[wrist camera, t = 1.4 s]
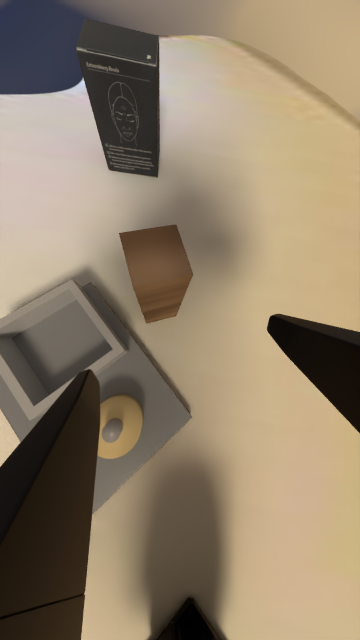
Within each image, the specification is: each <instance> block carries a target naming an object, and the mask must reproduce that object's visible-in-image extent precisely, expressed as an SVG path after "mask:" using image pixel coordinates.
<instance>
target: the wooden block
mask: <svg viewBox="0 0 360 640" xmlns="http://www.w3.org/2000/svg"><path fill="white" fill-rule="evenodd" d="M119 235H120V239H121V243H122V246H123V250H124V254H125V258H126V262H127V266H128V270H129V273H130V277H131V281H132V285H133V288H134V291H135V294H136V297H137V299H138V302H139V305H140V307H141V310H142V313H143V316H144V318H145V321H146V323H150V322H154V321H158V320H161V319H165V318H169V317H173V316H176V314H177V312H178V310H179V307H180V305H181V302H182V300H183V297H184V295H185V293H186V290H187V288H188V285H189V283H190V280H191V278H192V276H193V273H192V270H191V267H190V264H189V261H188V258H187V255H186V252H185V249H184V246H183V243H182V240H181V237H180V234H179V231H178V229H177V226H176V225H170V226H163V227H156V228H150V229H143V230H136V231H130V232H123V233H119Z"/></svg>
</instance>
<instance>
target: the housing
mask: <svg viewBox="0 0 360 640" xmlns="http://www.w3.org/2000/svg"><path fill="white" fill-rule="evenodd" d="M87 369H91V370H92V371H93V373H94V374H95V376H96V377H97V379H98V381H99V384H100V433H99V444H98V455H97V466H96V477H95V488H94V499H93V510H92V514H93V513H94V512H95V511H97V510H98V509H99V508H100V507H101V506H102V505H103V504H104V503H105V502H106V501H107V500H108V499H109V498H110V497H111V496H112V495H113V494H114V493H115V492H116V491H117V490H118V489H119V488H120V487H121V486H122V485H123V484H124V483H125V482H126V481H127V480H128V479H129V478H130V477H131V476H132V475H133V474H135V473H136V472H137V471H138V470H139V469H140V468H141V467H142V466H143V465H144V464H145V463H146V462H147V461H148V460H149V459H150V458H151V457H152V456H153V455H154V454H155V453H156V452H157V451H158V450H159V449H160V448H161V447H162V446H163V445H164V444H165V443H166V442H167V441H168V440H169V439H170V438H171V437H173V436H174V435H175V434H176V433H177V432H178V431H179V430H180V429H181V428H182V427H183V426H184V425H185V424H186V423H187V422H188V421H189V420H190V419H191V418H192V416H191V414H190V413H189V412H188V410H187V409H186V408H185V406H184V405H183V404H182V402H181V401H180V400H179V399H178V397H177V396H176V395H175V393H174V392H173V391H172V389H171V388H170V387H169V385H168V384H167V383H166V381H165V380H164V379H163V377H162V376H161V375H160V373H159V372H158V371H157V369H156V368H155V367H154V365H153V364H152V363H151V361H150V360H149V359H148V357H147V356H146V355H145V353H144V352H143V351H142V349H141V348H140V347H139V345H138V344H137V343H136V341H135V340H134V339H133V337H132V336H131V335H130V333H129V332H128V331H127V329H126V328H125V327H124V325H123V324H122V323H121V321H120V320H119V319H118V317H117V316H116V315H115V313H114V312H113V311H112V309H111V308H110V307H109V305H108V304H107V303H106V302H105V300H104V299H103V298H102V296H101V295H100V294H99V292H98V291H97V290H96V288H95V287H94V286H93V284H92V283H91V282H90V283H88V284H87V285H85V286H83V287H82V288H81V287H80V286H79V285H78V284H77V283H76V282H74V281H73V280H72V279H71V280H69V281H67V282H66V283H64V284H62V285H60V286H58V287H57V288H55V289H53V290H51V291H50V292H48V293H46V294H44V295H42V296H41V297H39V298H37V299H35V300H34V301H32V302H30V303H28V304H26V305H25V306H23V307H21V308H19V309H18V310H16V311H14V312H12V313H10V314H9V315H7V316H5V317H3V318H2V319H0V409H1V411H2V412H3V414H4V416H5V417H6V419H7V420H8V422H9V424H10V425H11V427H12V429H13V430H14V432H15V434H16V435H17V437H18V438H19V440H20V442H21V441H22V440H23V439H24V438H25V437H26V435H27V434H28V433H29V432H30V431H31V429H32V428H33V427H34V426H35V425H36V423H37V422H38V421H39V420H40V419H41V417H42V416H43V415H44V414H45V413H46V411H47V410H48V409H49V408H50V407H51V405H52V404H53V403H54V402H55V401H56V399H57V398H58V397H59V396H60V395H61V393H62V392H63V391H64V390H65V389H66V387H67V386H68V385H69V384H70V383H71V381H72V380H73V379H74V378H75V377H76V375H77V374H78V373H79V372H81V371H84V370H87Z"/></svg>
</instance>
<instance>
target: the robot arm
mask: <svg viewBox="0 0 360 640" xmlns="http://www.w3.org/2000/svg"><path fill="white" fill-rule="evenodd" d="M267 331H268V333H269V334H270V335H271V337H272V338H273V339H274V340H275V342H276V343H277V344H278V346H279V347H280V348H281V349H282V351H283V352H284V353H285V354H286V355H287V357H288V358H289V359H290V360H291V361H292V362H293V363H294V364H295V365H296V366H297V367H298V368H299V369H300V370H301V371H302V373H303V374H304V375H305V376H306V377H307V378H308V379H309V380H310V381H311V382H312V383H313V384H314V385H315V386H316V387H317V388H318V389H319V391H320V392H321V393H322V394H323V395H324V396H325V397H326V398H327V399H328V400H329V401H330V402H331V403H332V404H333V405H334V406H335V408H336V409H337V410H338V411H339V412H340V413H341V414H342V415H343V416H344V417H345V418H346V419H347V420H348V421H349V422H350V423H351V424H352V426H353V427H354V428H355V429H356V430H357V431H358V432H359V433H360V332H357V331H353V330H348V329H344V328H339V327H335V326H331V325H326V324H322V323H317V322H313V321H309V320H304V319H300V318H295V317H291V316H287V315H282V314H275V315H272V316H270V318H269V322H268V326H267ZM99 433H100V384H99V381H98V379H97V377H96V376H95V374H94V373H93V371H92V370H91V369H87V370H84V371H81V372H79V373H78V374H77V375H76V377H75V378H74V379H73V380H72V381H71V383H70V384H69V385H68V386H67V387H66V389H65V390H64V391H63V392H62V393H61V395H60V396H59V397H58V398H57V399H56V401H55V402H54V403H53V404H52V405H51V407H50V408H49V409H48V410H47V411H46V413H45V414H44V415H43V416H42V417H41V419H40V420H39V421H38V422H37V423H36V425H35V426H34V427H33V428H32V429H31V431H30V432H29V433H28V434H27V435H26V437H25V438H24V439H23V440H22V441H21V443H20V444H19V445H18V446H17V447H16V449H15V450H14V451H13V452H12V454H11V455H10V456H9V457H8V458H7V460H6V461H5V462H4V463H3V464H2V466H1V467H0V640H81V633H82V622H83V611H84V600H85V595H84V593H85V587H86V576H87V565H88V554H89V543H90V532H91V521H92V510H93V499H94V488H95V477H96V466H97V455H98V444H99ZM190 608H191V609H190ZM157 640H221V639H220V638H219V636H218V635H217V633H216V632H215V630H214V629H213V627H212V626H211V624H210V623H209V621H208V620H207V618H206V617H205V615H204V614H203V612H202V611H201V609H200V608H199V606H198V605H197V603H196V601H195V600H194V599H193V598H188V599H187V600H186V602H185V603H184V604H183V606H182V607H181V608H180V610H179V611H178V612H177V614H176V615H175V616H174V618H173V619H172V620H171V622H170V623H169V624H168V626H167V627H166V628H165V630H164V631H163V632H162V633H161V635H160V636H159V637H158V639H157Z"/></svg>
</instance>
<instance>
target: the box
mask: <svg viewBox="0 0 360 640" xmlns="http://www.w3.org/2000/svg"><path fill="white" fill-rule="evenodd" d="M76 51H77V55H78V58H79V62H80V67H81V70H82V74H83V78H84V81H85V85H86V88H87V92H88V95H89V99H90V103H91V107H92V110H93V114H94V118H95V121H96V125H97V129H98V132H99V136H100V140H101V143H102V147H103V150H104V154H105V158H106V162H107V165H108V168H109V170H112V171H120V172H127V173H134V174H141V175H148V176H155V177H158V165H159V152H160V123H159V121H160V119H159V37H158V36H157V35H153V34H148V33H144V32H140V31H136V30H132V29H128V28H123V27H119V26H115V25H110V24H107V23H102V22H98V21H94V20H90V19H85V21H84V24H83V27H82V30H81V33H80V37H79V40H78V43H77V45H76Z"/></svg>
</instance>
